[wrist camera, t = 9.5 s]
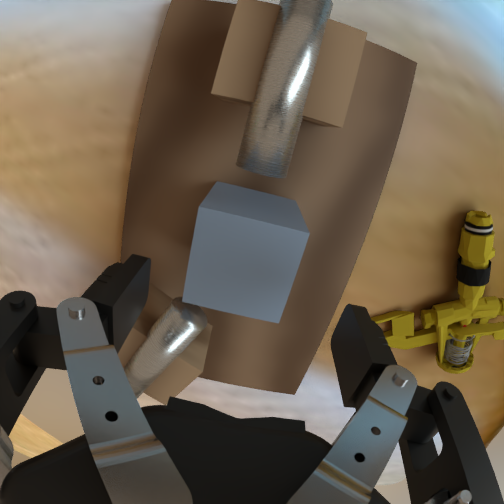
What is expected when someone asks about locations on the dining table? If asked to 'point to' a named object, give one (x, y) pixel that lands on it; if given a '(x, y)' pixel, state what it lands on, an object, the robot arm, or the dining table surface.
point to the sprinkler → (456, 305)
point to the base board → (256, 180)
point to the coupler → (245, 252)
